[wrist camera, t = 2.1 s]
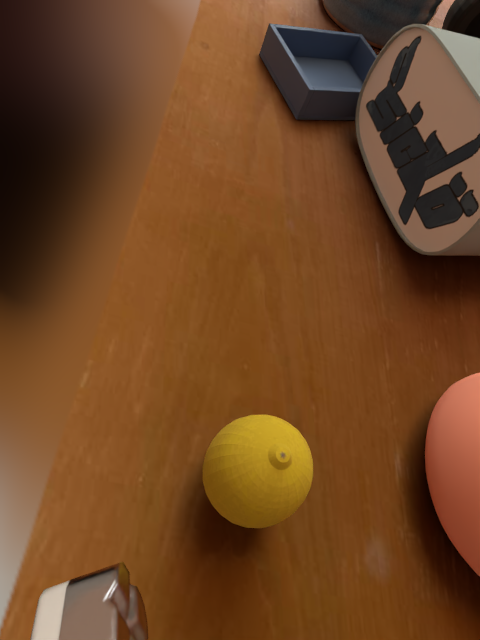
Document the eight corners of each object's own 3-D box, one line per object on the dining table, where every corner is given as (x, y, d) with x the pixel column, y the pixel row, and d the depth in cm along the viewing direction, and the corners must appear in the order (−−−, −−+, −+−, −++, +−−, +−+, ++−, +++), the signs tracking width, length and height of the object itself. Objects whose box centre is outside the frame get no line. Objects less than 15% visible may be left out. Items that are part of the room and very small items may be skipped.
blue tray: (296, 119, 45) (309, 89, 42) (259, 54, 50) (269, 23, 47) (388, 120, 51) (405, 94, 48) (347, 61, 55) (361, 34, 52)
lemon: (178, 451, 26) (207, 413, 19) (259, 425, 28) (309, 383, 21) (207, 548, 23) (250, 544, 17) (291, 511, 26) (359, 495, 19)
